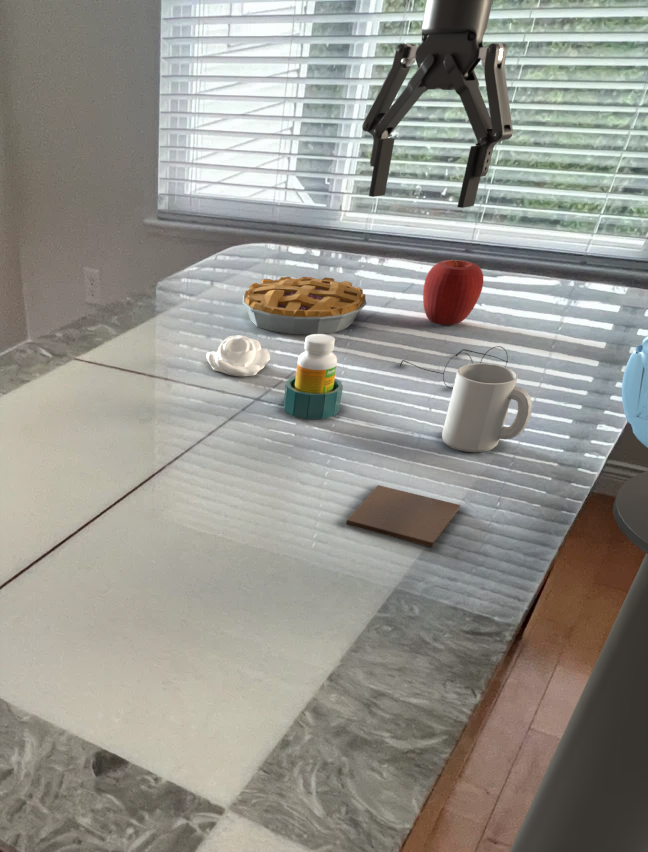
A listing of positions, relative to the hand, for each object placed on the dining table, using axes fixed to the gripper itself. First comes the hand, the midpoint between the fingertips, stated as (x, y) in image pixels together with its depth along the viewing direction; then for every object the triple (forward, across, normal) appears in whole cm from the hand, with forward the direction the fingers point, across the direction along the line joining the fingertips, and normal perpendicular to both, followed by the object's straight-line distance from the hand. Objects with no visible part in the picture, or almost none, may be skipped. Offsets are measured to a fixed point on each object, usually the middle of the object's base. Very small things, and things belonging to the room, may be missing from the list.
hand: (419, 201), depth 112 cm
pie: (+22, -29, +16) cm, 40 cm away
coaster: (+27, +26, -32) cm, 49 cm away
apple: (+22, -9, +31) cm, 39 cm away
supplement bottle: (+25, -2, -15) cm, 29 cm away
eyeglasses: (+24, +4, +11) cm, 26 cm away
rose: (+24, -21, -10) cm, 33 cm away
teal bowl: (+25, -2, -15) cm, 29 cm away
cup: (+25, +21, -8) cm, 34 cm away
